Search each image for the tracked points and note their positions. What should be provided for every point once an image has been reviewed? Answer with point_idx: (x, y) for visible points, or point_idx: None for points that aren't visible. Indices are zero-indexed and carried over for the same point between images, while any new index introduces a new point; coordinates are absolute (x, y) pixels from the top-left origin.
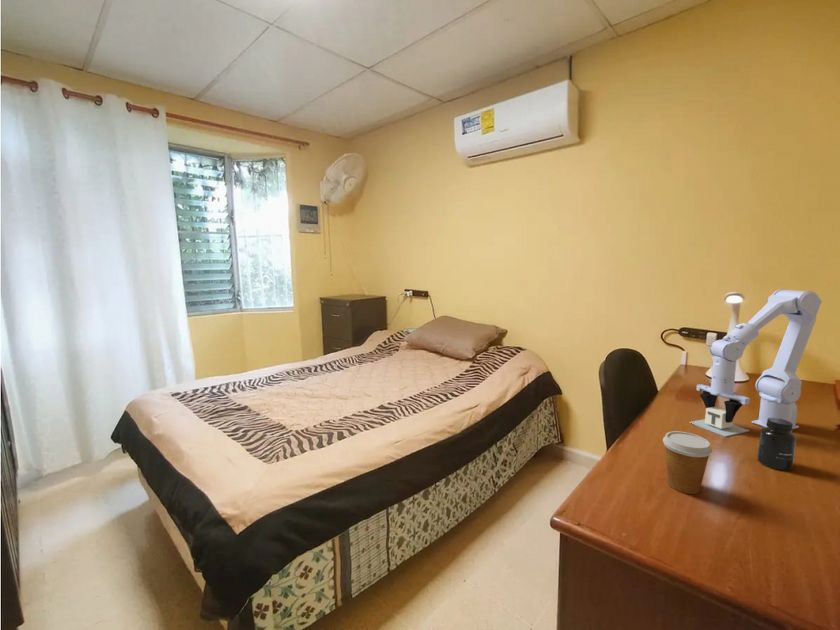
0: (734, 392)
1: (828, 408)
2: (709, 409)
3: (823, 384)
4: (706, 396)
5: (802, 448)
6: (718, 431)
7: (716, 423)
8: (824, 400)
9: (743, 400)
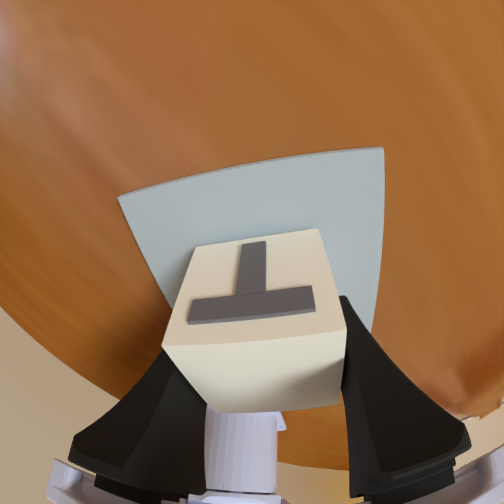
0: None
1: (292, 463)
2: (303, 334)
3: None
4: (386, 477)
5: (83, 355)
6: (184, 212)
7: (228, 259)
8: (317, 466)
9: (53, 488)
